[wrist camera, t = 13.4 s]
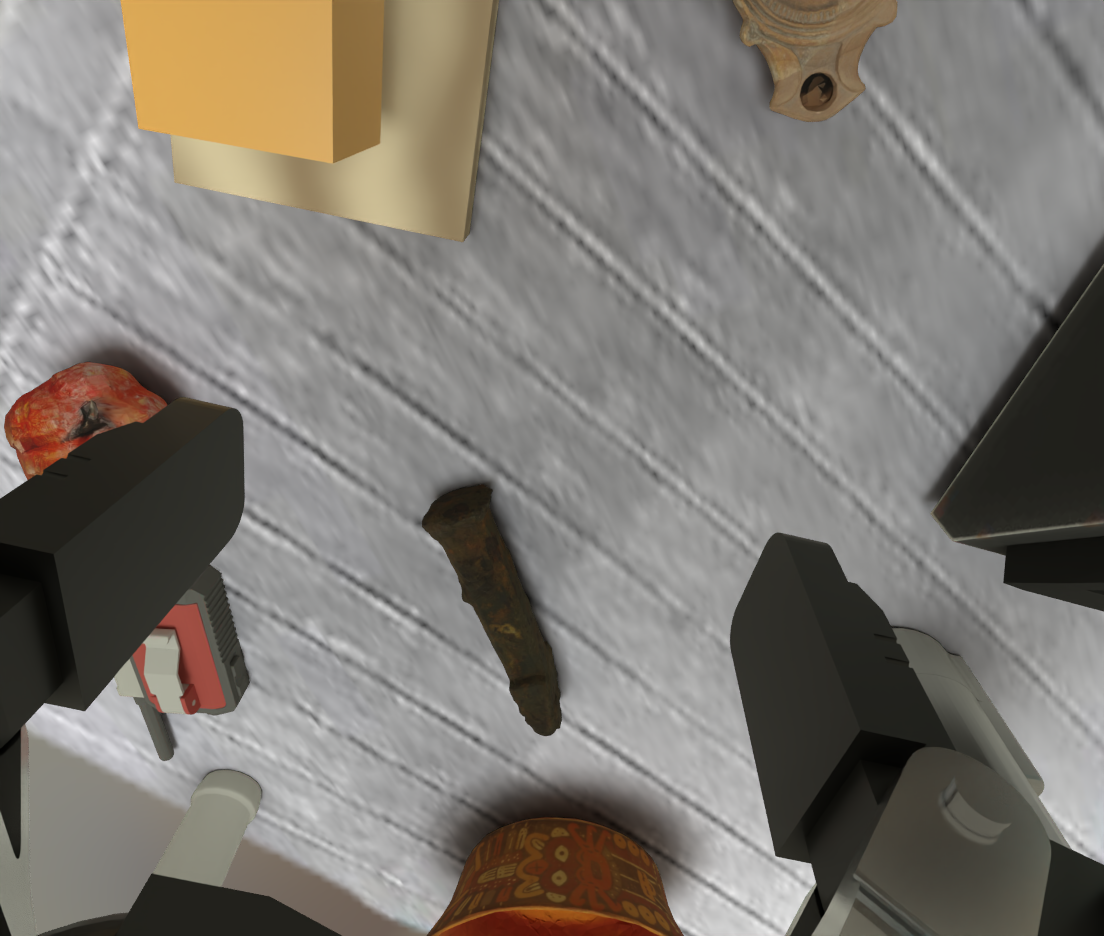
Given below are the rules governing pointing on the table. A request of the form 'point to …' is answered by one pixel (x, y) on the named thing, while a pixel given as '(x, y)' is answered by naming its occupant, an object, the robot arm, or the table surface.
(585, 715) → the table surface
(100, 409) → the pomegranate
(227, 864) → the bottle
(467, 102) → the cream base with peg
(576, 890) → the bowl
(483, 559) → the hand tool
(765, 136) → the table surface
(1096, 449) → the voltmeter
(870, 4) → the oil lamp
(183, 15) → the mustard yellow cube
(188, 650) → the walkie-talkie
